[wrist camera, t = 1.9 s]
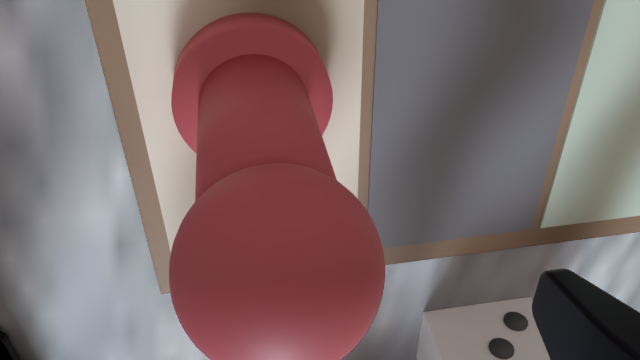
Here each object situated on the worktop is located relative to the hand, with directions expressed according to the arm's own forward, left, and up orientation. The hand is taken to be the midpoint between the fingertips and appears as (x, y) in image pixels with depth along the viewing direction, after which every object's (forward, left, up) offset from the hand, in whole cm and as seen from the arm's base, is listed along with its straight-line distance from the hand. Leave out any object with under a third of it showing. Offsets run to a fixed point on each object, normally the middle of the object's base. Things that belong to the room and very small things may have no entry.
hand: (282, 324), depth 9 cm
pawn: (0, 0, -9) cm, 9 cm away
